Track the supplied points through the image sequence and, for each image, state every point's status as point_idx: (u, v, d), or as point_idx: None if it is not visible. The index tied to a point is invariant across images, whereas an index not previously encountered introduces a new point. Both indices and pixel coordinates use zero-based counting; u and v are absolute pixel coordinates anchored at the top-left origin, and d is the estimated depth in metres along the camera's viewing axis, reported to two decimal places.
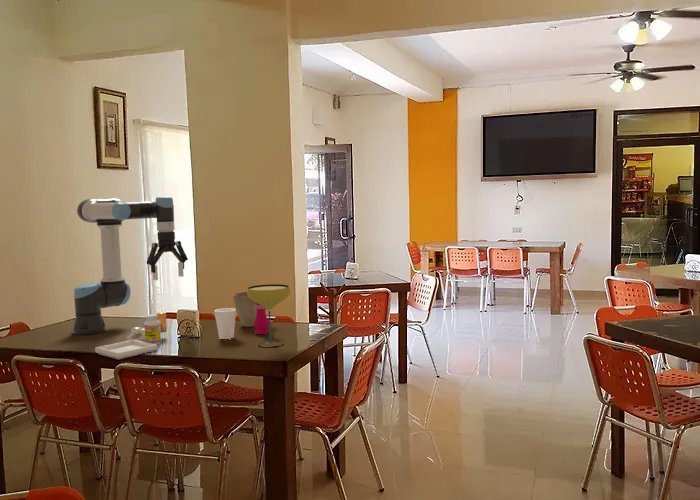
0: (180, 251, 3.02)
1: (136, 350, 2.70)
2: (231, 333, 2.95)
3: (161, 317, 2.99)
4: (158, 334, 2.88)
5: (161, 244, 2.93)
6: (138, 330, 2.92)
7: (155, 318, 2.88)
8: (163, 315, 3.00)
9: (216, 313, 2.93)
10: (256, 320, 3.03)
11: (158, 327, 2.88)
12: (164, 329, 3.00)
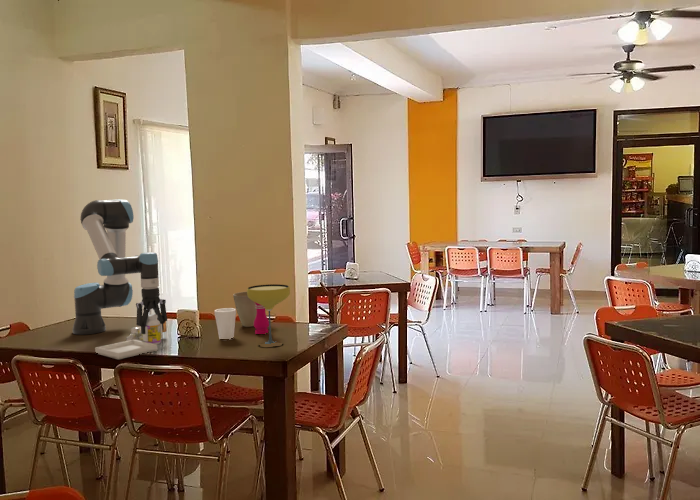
0: (162, 310, 2.93)
1: (136, 350, 2.70)
2: (231, 333, 2.95)
3: None
4: (158, 334, 2.88)
5: (145, 302, 2.85)
6: (138, 330, 2.92)
7: (155, 318, 2.88)
8: None
9: (216, 313, 2.93)
10: (256, 320, 3.03)
11: (158, 327, 2.88)
12: (164, 329, 3.00)
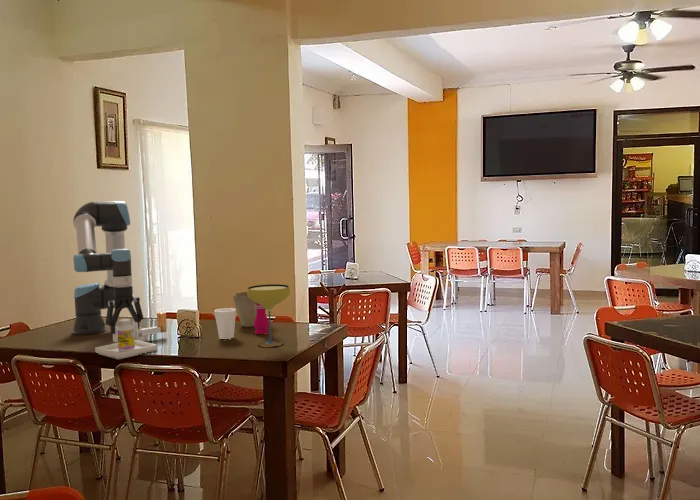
0: (137, 308, 2.79)
1: (136, 350, 2.70)
2: (231, 333, 2.95)
3: (161, 317, 2.99)
4: (131, 340, 2.74)
5: (117, 301, 2.71)
6: (138, 330, 2.92)
7: (128, 323, 2.74)
8: (163, 315, 3.00)
9: (216, 313, 2.93)
10: (256, 320, 3.03)
11: (131, 332, 2.74)
12: (164, 329, 3.00)
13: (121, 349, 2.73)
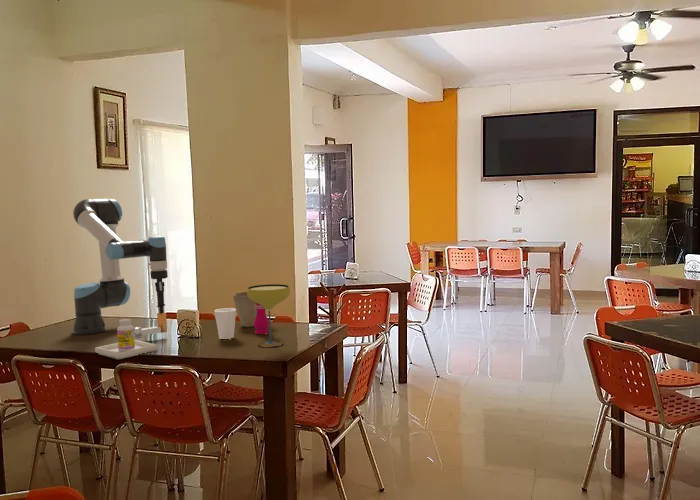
0: None
1: (136, 350, 2.70)
2: (231, 333, 2.95)
3: (161, 317, 2.99)
4: (132, 340, 2.74)
5: None
6: (138, 330, 2.92)
7: (128, 323, 2.74)
8: (163, 315, 2.99)
9: (216, 313, 2.93)
10: (256, 320, 3.03)
11: (132, 332, 2.74)
12: (164, 329, 3.00)
13: (121, 349, 2.73)
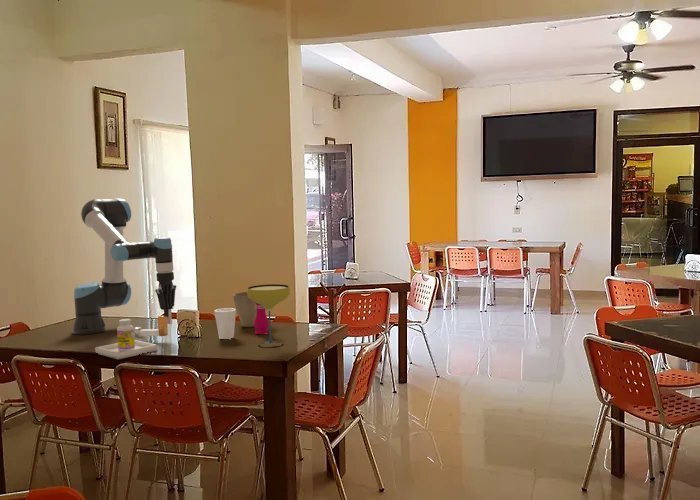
0: None
1: (136, 350, 2.70)
2: (231, 333, 2.95)
3: (159, 320, 2.91)
4: (132, 340, 2.74)
5: None
6: (134, 330, 2.92)
7: (128, 323, 2.74)
8: (161, 319, 2.91)
9: (216, 313, 2.93)
10: (256, 320, 3.03)
11: (132, 332, 2.74)
12: (162, 333, 2.92)
13: (121, 349, 2.73)
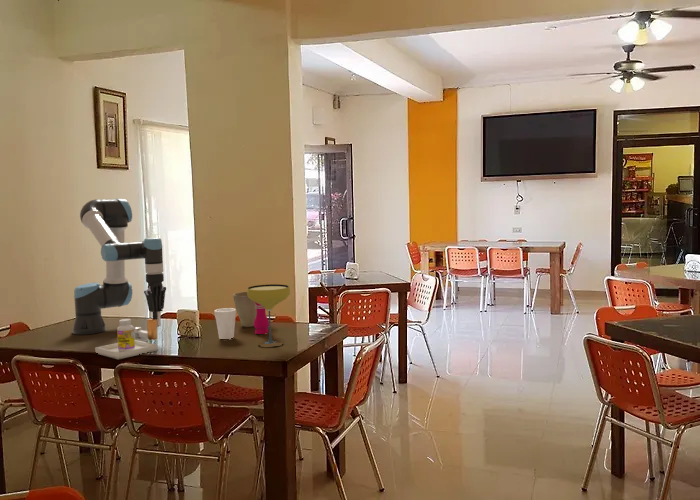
0: None
1: (136, 350, 2.70)
2: (231, 333, 2.95)
3: (147, 323, 2.85)
4: (132, 340, 2.74)
5: None
6: None
7: (128, 323, 2.74)
8: (148, 322, 2.84)
9: (216, 313, 2.93)
10: (256, 320, 3.03)
11: (132, 332, 2.74)
12: (149, 336, 2.85)
13: (121, 349, 2.73)
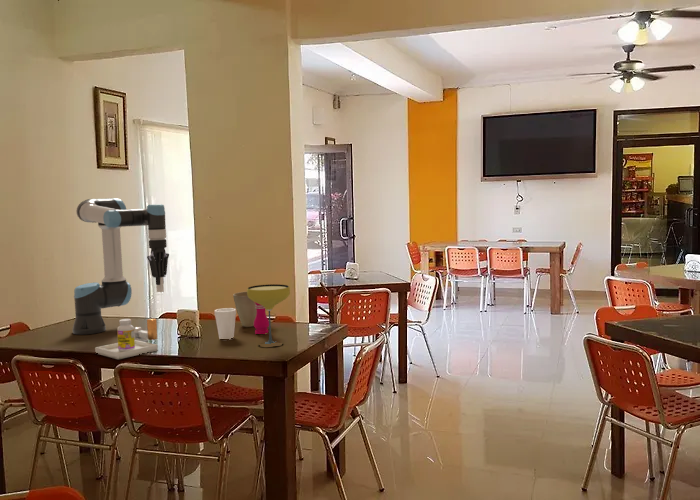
0: None
1: (136, 350, 2.70)
2: (231, 333, 2.95)
3: (147, 323, 2.85)
4: (132, 340, 2.74)
5: None
6: None
7: (129, 323, 2.74)
8: (148, 322, 2.84)
9: (216, 313, 2.93)
10: (256, 320, 3.03)
11: (132, 332, 2.74)
12: (149, 336, 2.85)
13: (121, 349, 2.73)
